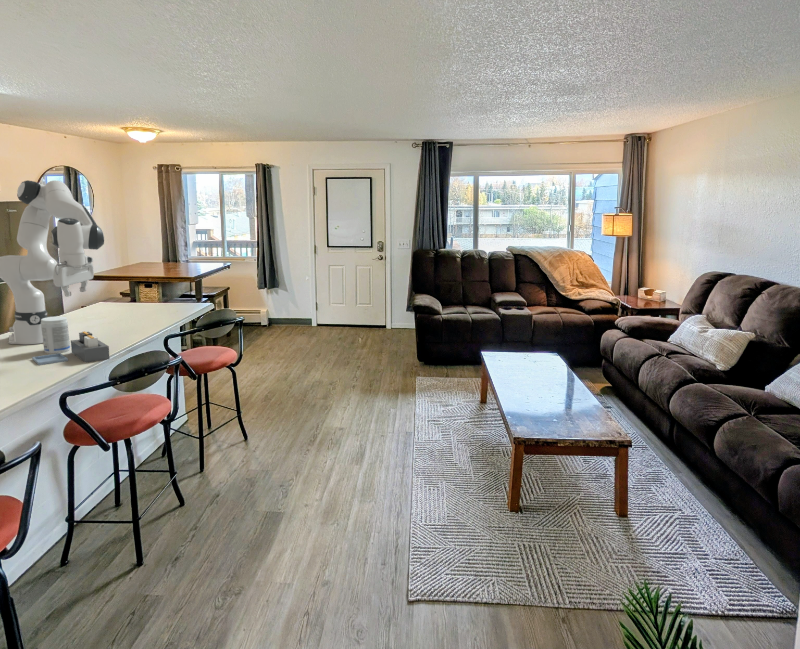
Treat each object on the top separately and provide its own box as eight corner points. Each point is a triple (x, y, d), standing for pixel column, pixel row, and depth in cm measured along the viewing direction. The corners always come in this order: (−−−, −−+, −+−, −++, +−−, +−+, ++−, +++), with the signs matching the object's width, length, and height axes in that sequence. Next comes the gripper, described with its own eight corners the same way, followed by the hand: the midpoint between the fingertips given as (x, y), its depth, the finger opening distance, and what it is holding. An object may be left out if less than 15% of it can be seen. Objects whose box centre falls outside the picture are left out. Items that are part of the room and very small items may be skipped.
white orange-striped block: (85, 355, 221) (83, 335, 219) (94, 353, 223) (93, 334, 222) (89, 358, 218) (87, 338, 216) (99, 356, 220) (97, 337, 218)
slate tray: (32, 360, 215) (32, 357, 215) (60, 356, 222) (60, 353, 222) (39, 366, 209) (38, 362, 208) (68, 362, 216) (67, 358, 215)
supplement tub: (73, 348, 235) (71, 316, 232) (65, 354, 226) (62, 320, 223) (49, 349, 233) (46, 316, 230) (39, 354, 224) (36, 320, 221)
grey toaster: (71, 354, 227) (69, 331, 225) (95, 350, 233) (93, 329, 231) (85, 363, 215) (83, 340, 213) (109, 360, 221) (108, 337, 219)
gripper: (62, 264, 203) (66, 299, 206) (95, 257, 222) (98, 289, 226) (46, 263, 203) (50, 298, 206) (80, 256, 223) (83, 288, 226)
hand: (75, 293), depth 216 cm, fingers open, 8 cm apart
